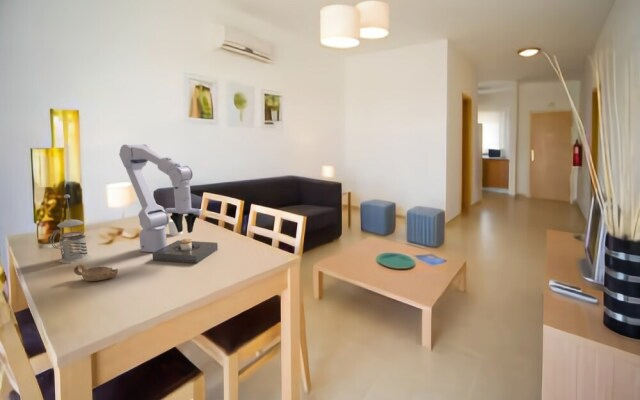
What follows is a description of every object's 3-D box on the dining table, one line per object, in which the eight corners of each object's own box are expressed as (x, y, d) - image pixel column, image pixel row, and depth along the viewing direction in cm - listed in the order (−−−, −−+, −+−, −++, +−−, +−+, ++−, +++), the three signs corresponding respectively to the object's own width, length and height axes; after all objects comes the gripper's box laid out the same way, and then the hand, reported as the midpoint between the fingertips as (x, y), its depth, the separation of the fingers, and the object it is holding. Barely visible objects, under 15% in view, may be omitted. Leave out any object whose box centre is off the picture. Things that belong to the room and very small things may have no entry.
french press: (96, 256, 124) (88, 193, 119) (62, 266, 113) (52, 198, 109) (82, 252, 128) (73, 191, 124) (47, 262, 118) (37, 196, 113)
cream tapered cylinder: (187, 232, 157) (186, 219, 155) (176, 236, 150) (175, 222, 149) (176, 231, 159) (175, 218, 158) (165, 235, 153) (164, 221, 151)
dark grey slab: (153, 260, 119) (152, 253, 119) (178, 247, 135) (177, 240, 134) (196, 263, 117) (196, 255, 116) (217, 249, 132) (217, 242, 132)
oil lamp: (123, 274, 107) (122, 260, 106) (109, 284, 100) (107, 269, 99) (85, 274, 107) (83, 260, 106) (67, 284, 100) (65, 269, 99)
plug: (179, 256, 124) (177, 241, 123) (185, 252, 128) (184, 238, 127) (188, 257, 123) (187, 242, 122) (194, 253, 127) (193, 239, 126)
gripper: (158, 199, 119) (161, 233, 121) (194, 200, 117) (196, 235, 119) (170, 196, 126) (173, 229, 128) (204, 197, 123) (206, 230, 126)
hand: (185, 232), depth 124 cm, fingers open, 4 cm apart
